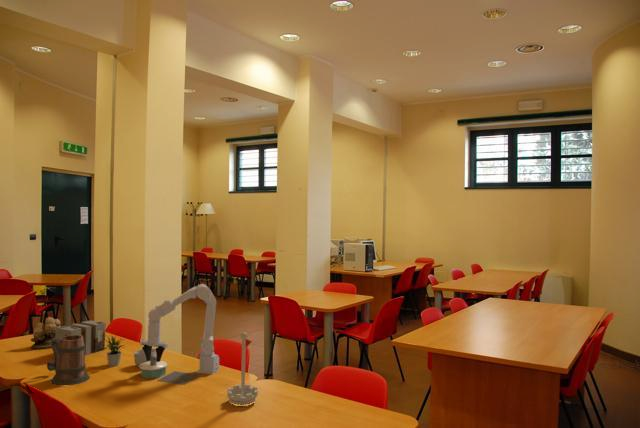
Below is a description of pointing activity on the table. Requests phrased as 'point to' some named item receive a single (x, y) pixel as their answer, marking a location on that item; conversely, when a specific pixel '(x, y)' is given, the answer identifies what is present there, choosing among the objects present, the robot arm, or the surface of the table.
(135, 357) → the teacup
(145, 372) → the bowl
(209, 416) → the table surface
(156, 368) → the lid
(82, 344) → the tankard
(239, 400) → the flag stand
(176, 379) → the mat
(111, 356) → the house plant
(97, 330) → the bookend
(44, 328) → the beige lumpy cluster
